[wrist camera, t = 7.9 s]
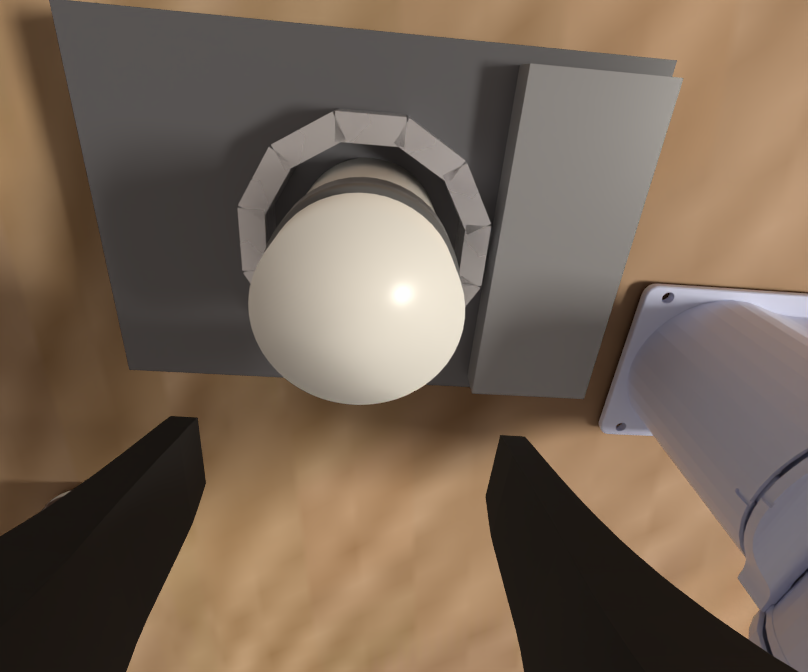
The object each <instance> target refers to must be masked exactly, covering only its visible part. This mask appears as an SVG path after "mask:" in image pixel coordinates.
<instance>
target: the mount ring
mask: <svg viewBox="0 0 808 672" xmlns="http://www.w3.org/2000/svg"><path fill="white" fill-rule="evenodd" d="M340 142H345V143H357V144H369V145H381V146H393V147H399V148H401V149H402V150H403V151H405V152H406V153H408V154H409V155H410V156H412V157H413V158H414V159H416V160H417V161H418V162H420V163H421V164H423V165H424V166H425V167H427V168H428V169H429V170H431V171H432V172H434V173H435V174H436V175H438V176H439V177H440V178H442V179H443V181H444V184H445V186H446V189H447V191H448V193H449V196H450V198H451V200H452V203H453V205H454V208H455V210H456V212H457V215H458V217H459V221H458V229H457V236H456V244H455V251H454V253H455V255H456V259H457V262H458V266H459V273H460V281H461V285H462V289H463V292H464V300H465V307H466V305H467V304H468V303H469V302H470V300H471V299H472V298H473V297H474V295H475V294H476V293H477V292H478V291H479V289H480V287H479V286H481V285H482V279H483V273H484V267H485V261H486V255H487V249H488V243H489V237H490V231H491V225H490V224H491V222H490V220H489V217H488V215H487V212H486V210H485V207H484V205H483V202H482V199H481V197H480V194H479V192H478V189H477V187H476V184H475V182H474V179H473V176H472V174H471V171H470V169H469V166H468V164H467V162H466V161H465V160H464V159H463V158H462V157H461V156H460V155H459V154H458V153H457V152H456V151H454V150H453V149H452V148H450V147H449V146H448V145H446V144H445V143H444V142H442V141H441V140H440V139H438V138H437V137H436V136H434V135H433V134H432V133H431V132H429V131H428V130H427V129H425V128H424V127H423V126H421V125H420V124H419V123H417V122H416V121H415V120H413V119H412V118H411V117H409V116H408V115H407V117H406V115H405V114H398V113H387V112H376V111H364V110H353V109H341V108H340V109H338V110H337V109H336V110H334V111H332V112H330V113H329V114H327V115H325V116H323V117H321V118H319V119H317V120H316V121H314V122H312V123H310V124H308V125H306V126H304V127H303V128H301V129H299V130H297V131H295V132H293V133H292V134H290V135H288V136H286V137H284V138H282V139H280V140H279V141H277V142H275V143H273V144H271V146H269V147H268V149H267V151H266V153H265V155H264V157H263V159H262V161H261V162H260V164H259V166H258V168H257V170H256V172H255V174H254V176H253V178H252V180H251V181H250V183H249V185H248V187H247V189H246V191H245V193H244V195H243V197H242V199H241V200H240V202H239V204H238V206H239V207H238V208H237V209H238V221H239V234H240V247H241V259H242V271H244V275H245V276H246V278H247V279H248V281H249V282H250V284H251V280H252V276H253V274H254V271H255V269H256V267H257V264H258V262H259V261H260V259H261V257H262V256H263V254H264V251H265V249H266V246H267V244H268V241H269V239H270V237H271V236H272V234H273V232H274V231H275V229H276V222H275V203H276V201H277V200H278V198H279V196H280V194H281V192H282V191H283V189H284V187H285V185H286V184H287V182H288V180H289V178H290V176H291V175H292V173H293V171H294V169H295V167H296V166H297V165H298V164H300V163H302V162H304V161H306V160H308V159H310V158H312V157H314V156H315V155H317V154H319V153H321V152H323V151H325V150H327V149H329V148H331V147H333V146H334V145H336V144H338V143H340Z"/></svg>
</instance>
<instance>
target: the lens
mask: <svg viewBox="0 0 808 672" xmlns="http://www.w3.org/2000/svg"><path fill="white" fill-rule="evenodd" d="M248 308H249V318H250V323H251V328H252V331H253V334H254V336H255V339H256V341H257V343H258V345H259V347H260V349H261V351H262V353H263V354H264V356H265V357H266V358H267V360H268V361H269V363H270V364H271V365H272V366H273V367H274V368H275V369H276V370H277V372H278V373H280V374H281V375H282V376H283V377H284V378H285V379H286V380H288V381H289V382H291V383H292V384H293V385H295V386H296V387H298V388H300V389H301V390H303V391H305V392H307V393H309V394H311V395H314V396H316V397H319V398H321V399H325V400H328V401H332V402H337V403H343V404H353V405H367V404H377V403H383V402H388V401H391V400H395V399H398V398H401V397H403V396H406V395H408V394H410V393H412V392H414V391H416V390H418V389H419V388H421V387H422V386H424V385H425V384H427V383H428V382H430V381H431V380H432V379H433V378H434V377H435V376H436V375H437V374H438V373H439V372H440V371H441V370H442V369H443V368H444V367H445V365H446V364H447V363H448V361H449V360H450V358H451V357H452V355H453V354H454V352H455V350H456V348H457V346H458V343H459V341H460V338H461V335H462V331H463V326H464V320H465V300H464V292H463V289H462V285H461V281H460V273H459V266H458V262H457V259H456V255H455V253H454V250H453V247H452V245H451V242H450V240H449V238H448V235H447V233H446V230H445V228H444V226H443V224H442V223H441V221H440V219H439V218H438V216H437V215H436V214H435V211H434V208H433V206H432V203H431V201H430V198H429V196H428V194H427V193H426V191H425V189H424V188H423V186H422V185H421V184H420V183H419V181H418V180H417V179H416V178H415V177H414V176H413V175H412V174H410V173H409V172H408V171H406V170H405V169H404V168H402V167H400V166H398V165H396V164H394V163H391V162H389V161H386V160H381V159H376V158H357V159H351V160H348V161H345V162H342V163H339V164H337V165H335V166H333V167H332V168H330V169H329V170H327V171H326V172H325V173H324V174H323V175H321V176H320V177H319V178H318V179H317V181H316V182H315V183H314V184H313V186H312V187H311V188H310V190H309V191H308V193H307V194H306V195H305V196H303V197H302V198H301V199H300V200H299V201H298V202H297V203H296V204H295V205H294V206H293V207H292V208H291V210H290V211H289V212H288V213H287V214H286V216H285V217H284V218H283V220H282V221H281V222H280V224H279V225H278V226H277V228H276V229H275V231H274V232H273V234H272V236H271V237H270V239H269V241H268V244H267V246H266V249H265V251H264V254H263V256H262V257H261V259H260V261H259V262H258V264H257V267H256V269H255V271H254V274H253V276H252V280H251V285H250V289H249V299H248Z"/></svg>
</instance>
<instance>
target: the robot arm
mask: <svg viewBox="0 0 808 672" xmlns="http://www.w3.org/2000/svg"><path fill="white" fill-rule="evenodd" d="M669 292H670V293H669ZM666 293H669V296H668V298H666V299H665V300H662V297H663V296H664V294H666ZM619 423H622V424H621V425H619V426H617V424H619ZM599 427H600V429H601V430H602V432H604V433H607V434H623V435H645V436H654V437H655V438H656V440H657V441H658V442H659V444H660V445H661V446H662V448H663V449H664V450H665V451H666V453H667V454H668V455H669V457H670V458H671V459H672V461H673V462H674V463H675V465H676V466H677V467H678V469H679V470H680V471H681V473H682V474H683V475H684V477H685V478H686V479H687V481H688V482H689V483H690V485H691V486H692V487H693V489H694V490H695V491H696V493H697V494H698V495H699V496H700V498H701V499H702V500H703V502H704V503H705V504H706V506H707V507H708V508H709V510H710V511H711V512H712V514H713V515H714V516H715V518H716V519H717V520H718V522H719V523H720V524H721V526H722V527H723V528H724V530H725V531H726V532H727V534H728V535H729V536H730V538H731V539H732V540H733V541H734V543H735V544H736V545H737V547H738V548H739V549H740V551H741V552H742V553H743V555H744V556H745V557H746V563H745V566H744V568H743V570H742V571H741V573H740V574H739V575H738V580H739V581H740V582H741V584H742V585H743V587H744V588H745V589H746V591H747V592H748V594H749V595H750V597H751V598H752V599H753V601H754V602H755V604H756V605H757V606H758V608H759V609H760V610H759V611H758V612H757V614H756V615H755V616H754V617H753V619H752V622H751V625H750V627H749V640H748V639H747V638H745V637H744V636H742V635H741V634H739V633H738V632H736V631H735V630H733V629H732V628H731V627H729V626H728V625H726V624H725V623H723V622H722V621H721V620H719V619H718V618H716V617H715V616H714V615H712V614H711V613H709V612H708V611H707V610H705V609H704V608H703V607H701V606H700V605H699V604H697V603H696V602H695V601H693V600H692V599H691V598H689V597H688V596H687V595H686V594H684V593H683V592H682V591H680V590H679V589H678V588H676V587H675V586H674V585H673V584H671V583H670V582H669V581H668V580H666V579H665V578H664V577H663V576H661V575H660V574H659V573H658V572H656V571H655V570H654V569H653V568H652V567H651V566H650V565H648V564H647V563H646V562H645V561H644V560H643V559H641V558H640V557H639V556H638V555H637V554H636V553H634V552H633V551H632V550H631V549H630V548H629V547H628V546H627V545H626V544H624V543H623V542H622V541H621V540H620V539H619V538H618V537H617V536H616V535H615V534H614V533H613V532H612V531H611V530H610V529H609V528H608V527H607V526H606V525H605V524H604V523H603V522H602V521H601V520H600V519H599V518H598V517H596V516H595V514H594V513H593V512H592V511H591V510H590V509H589V508H588V507H587V506H586V505H585V504H584V503H583V502H582V501H581V500H580V499H579V498H578V497H577V496H576V494H575V493H574V492H573V491H572V490H571V489H570V488H569V487H568V486H567V485H566V483H565V482H564V481H563V480H562V479H561V478H560V477H559V476H558V474H557V473H556V472H555V471H554V470H553V469H552V468H551V466H550V465H549V464H548V463H547V462H546V461H545V459H544V458H543V457H542V456H541V455H540V454H539V452H538V451H537V450H536V449H535V448H534V447H533V445H532V444H531V443H530V442H529V441H528V440H527V439H526V437H522V436H505V435H500V439H499V443H498V447H497V451H496V455H495V460H494V464H493V468H492V472H491V476H490V480H489V484H488V489H487V493H486V504H487V512H488V519H489V526H490V532H491V538H492V542H493V546H494V550H495V554H496V558H497V561H498V565H499V569H500V573H501V576H502V580H503V584H504V588H505V591H506V595H507V599H508V603H509V606H510V610H511V614H512V618H513V621H514V625H515V629H516V633H517V637H518V642H519V646H520V651H521V656H522V662H523V668H524V672H808V294H807V293H792V292H777V291H762V290H747V289H732V288H717V287H702V286H687V285H672V284H657V283H656V284H651V285H649V286H647V287H646V288H645V289H644V291H643V293H642V295H641V298H640V301H639V304H638V307H637V310H636V313H635V316H634V319H633V322H632V325H631V328H630V331H629V334H628V337H627V340H626V342H625V345H624V348H623V351H622V354H621V357H620V360H619V363H618V366H617V369H616V372H615V375H614V378H613V381H612V384H611V387H610V390H609V393H608V396H607V399H606V402H605V405H604V408H603V411H602V414H601V417H600V420H599ZM205 484H206V480H205V473H204V465H203V457H202V449H201V441H200V433H199V426H198V418H194V417H176V416H170V417H169V418H168V419H166V420H165V421H164V422H162V423H161V424H160V425H158V426H157V427H156V428H154V429H153V430H152V431H151V432H149V433H148V434H147V435H145V436H144V437H143V438H142V439H140V440H139V441H138V442H137V443H135V444H134V445H133V446H131V447H130V448H129V449H127V450H126V451H125V452H124V453H122V454H121V455H120V456H118V457H117V458H116V459H114V460H113V461H112V462H110V463H109V464H108V465H106V466H105V467H104V468H102V469H101V470H100V471H98V472H97V473H96V474H94V475H93V476H92V477H90V478H89V479H87V480H86V481H84V482H83V483H82V484H80V485H79V486H77V487H76V488H74V489H73V490H71V491H70V492H69V493H67V494H66V495H64V496H63V497H61V498H60V499H58V500H57V501H56V502H54V503H53V504H51V505H50V506H48V507H47V508H45V509H44V510H42V511H41V512H39V513H38V514H36V515H35V516H33V517H31V518H30V519H28V520H27V521H25V522H23V523H22V524H20V525H18V526H17V527H15V528H13V529H12V530H10V531H8V532H7V533H5V534H3V535H2V536H0V672H126V671H127V668H128V665H129V663H130V660H131V657H132V655H133V652H134V649H135V646H136V644H137V641H138V639H139V637H140V634H141V632H142V630H143V627H144V625H145V623H146V620H147V618H148V616H149V614H150V612H151V610H152V608H153V606H154V604H155V602H156V599H157V597H158V595H159V593H160V591H161V589H162V587H163V585H164V583H165V581H166V579H167V577H168V574H169V572H170V570H171V568H172V566H173V564H174V562H175V560H176V558H177V556H178V554H179V551H180V549H181V547H182V545H183V543H184V541H185V539H186V537H187V534H188V532H189V530H190V528H191V526H192V523H193V521H194V518H195V515H196V512H197V509H198V506H199V503H200V500H201V497H202V494H203V490H204V487H205Z"/></svg>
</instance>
